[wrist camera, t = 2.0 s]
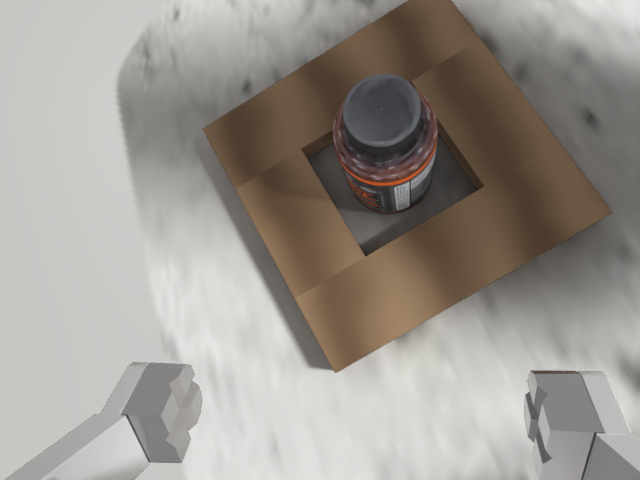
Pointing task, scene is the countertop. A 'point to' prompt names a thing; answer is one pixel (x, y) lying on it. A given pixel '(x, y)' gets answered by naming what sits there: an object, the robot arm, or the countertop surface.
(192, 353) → the countertop surface
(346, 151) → the supplement bottle
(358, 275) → the holder block
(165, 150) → the countertop surface
